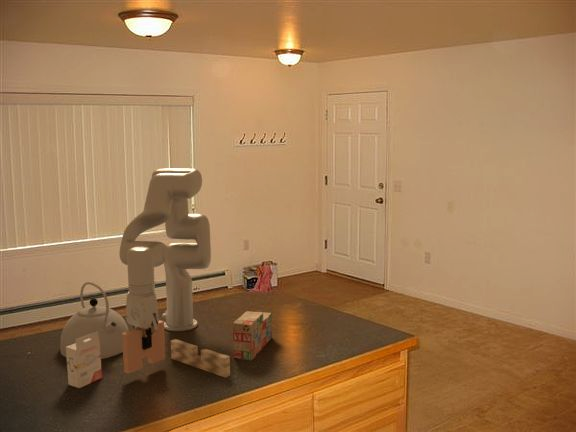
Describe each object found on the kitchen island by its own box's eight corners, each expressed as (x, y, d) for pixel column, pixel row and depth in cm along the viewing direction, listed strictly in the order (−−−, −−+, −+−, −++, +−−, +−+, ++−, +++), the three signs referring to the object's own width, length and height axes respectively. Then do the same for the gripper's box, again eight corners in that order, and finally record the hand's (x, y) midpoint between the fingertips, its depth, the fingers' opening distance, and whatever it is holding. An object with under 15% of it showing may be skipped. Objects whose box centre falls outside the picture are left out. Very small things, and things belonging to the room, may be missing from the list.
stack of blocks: (255, 336, 212) (255, 303, 210) (272, 338, 210) (272, 304, 209) (233, 358, 192) (232, 322, 190) (251, 361, 190) (251, 324, 188)
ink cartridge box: (91, 374, 180) (88, 327, 178) (102, 378, 177) (99, 330, 175) (67, 384, 173) (64, 336, 171) (78, 388, 170) (75, 339, 168)
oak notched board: (171, 358, 192) (170, 340, 191) (175, 356, 194) (175, 338, 193) (225, 377, 177) (225, 358, 177) (230, 375, 179) (229, 356, 178)
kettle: (147, 348, 201) (144, 283, 197) (84, 368, 185) (80, 298, 181) (109, 330, 218) (106, 271, 215) (48, 347, 202) (44, 283, 198)
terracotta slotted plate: (124, 372, 175) (122, 333, 173) (161, 356, 186) (159, 320, 184) (128, 373, 174) (126, 334, 172) (165, 358, 185) (163, 321, 183)
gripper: (114, 286, 178) (117, 345, 181) (149, 296, 168) (151, 358, 172) (135, 281, 184) (137, 337, 187) (169, 290, 174) (171, 349, 177)
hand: (144, 347), depth 179 cm, fingers closed on terracotta slotted plate, 1 cm apart
